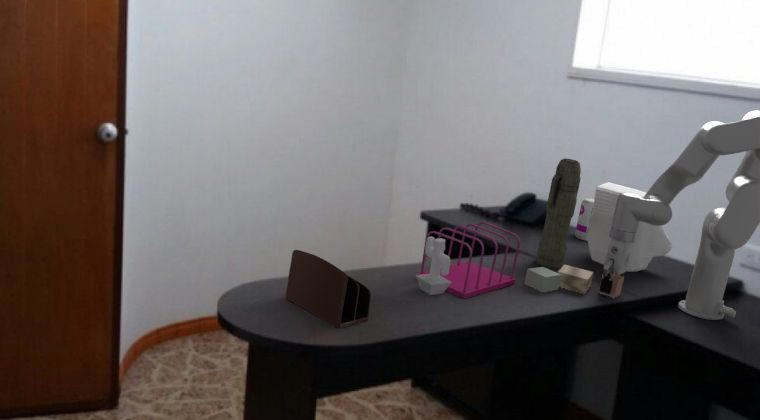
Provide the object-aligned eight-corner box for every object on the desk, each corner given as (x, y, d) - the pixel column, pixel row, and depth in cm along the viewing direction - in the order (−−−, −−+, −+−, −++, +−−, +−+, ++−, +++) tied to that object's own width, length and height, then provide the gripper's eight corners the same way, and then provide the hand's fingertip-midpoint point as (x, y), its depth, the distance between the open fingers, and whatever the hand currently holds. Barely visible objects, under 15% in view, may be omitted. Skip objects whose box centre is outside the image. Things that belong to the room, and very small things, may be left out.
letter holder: (338, 329, 174) (346, 272, 170) (284, 299, 187) (290, 245, 183) (368, 321, 181) (376, 266, 177) (314, 292, 194) (321, 240, 190)
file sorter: (514, 285, 222) (524, 234, 218) (463, 299, 204) (473, 245, 200) (468, 266, 233) (476, 217, 229) (415, 278, 215) (424, 226, 211)
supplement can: (573, 238, 284) (582, 200, 280) (574, 233, 292) (583, 196, 288) (595, 243, 282) (604, 204, 278) (596, 238, 289) (604, 200, 286)
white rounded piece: (597, 249, 274) (613, 180, 267) (667, 274, 255) (685, 201, 249) (565, 256, 259) (581, 183, 253) (637, 282, 241) (655, 205, 234)
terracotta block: (619, 295, 227) (624, 276, 225) (614, 298, 223) (618, 279, 221) (603, 289, 229) (608, 271, 228) (598, 293, 225) (602, 274, 224)
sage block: (557, 290, 223) (561, 274, 222) (542, 293, 219) (545, 277, 217) (539, 282, 228) (543, 266, 227) (524, 284, 224) (527, 268, 223)
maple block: (590, 287, 230) (593, 272, 229) (584, 295, 222) (588, 279, 221) (561, 279, 234) (564, 264, 233) (554, 287, 226) (557, 271, 225)
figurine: (432, 299, 201) (441, 245, 197) (410, 286, 208) (419, 234, 204) (452, 296, 205) (461, 244, 201) (431, 283, 212) (439, 233, 209)
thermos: (527, 261, 246) (548, 157, 237) (548, 257, 254) (569, 156, 245) (549, 270, 240) (571, 164, 231) (570, 266, 248) (592, 163, 239)
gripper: (625, 243, 212) (612, 299, 217) (644, 233, 226) (631, 286, 230) (600, 235, 216) (587, 291, 221) (620, 227, 230) (607, 279, 235)
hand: (610, 288), depth 226 cm, fingers open, 9 cm apart
